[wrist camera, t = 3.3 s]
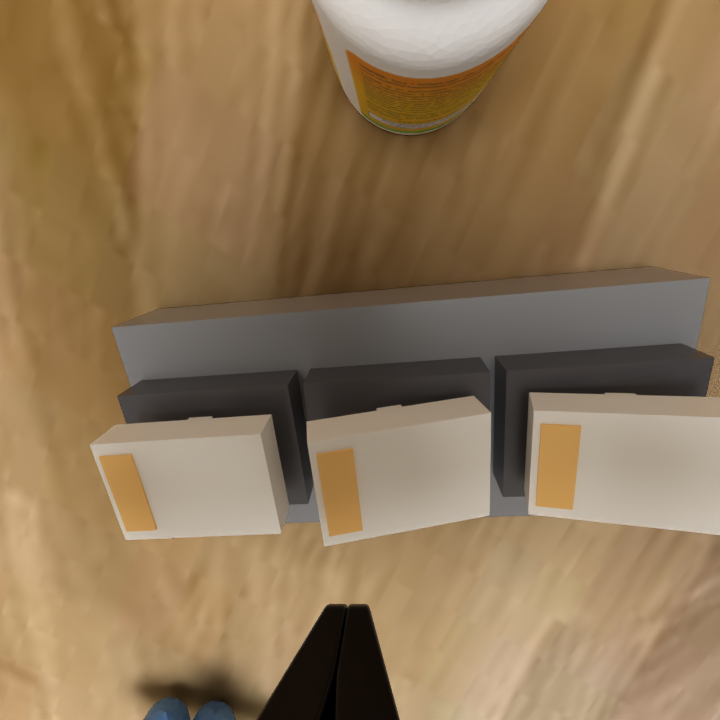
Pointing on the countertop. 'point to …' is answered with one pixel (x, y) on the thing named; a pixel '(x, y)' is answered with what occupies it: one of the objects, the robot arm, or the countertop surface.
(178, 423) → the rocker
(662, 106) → the countertop surface
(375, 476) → the middle rocker
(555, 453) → the block
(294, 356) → the rocker switch strip
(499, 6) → the supplement bottle
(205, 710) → the grapes
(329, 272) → the countertop surface
